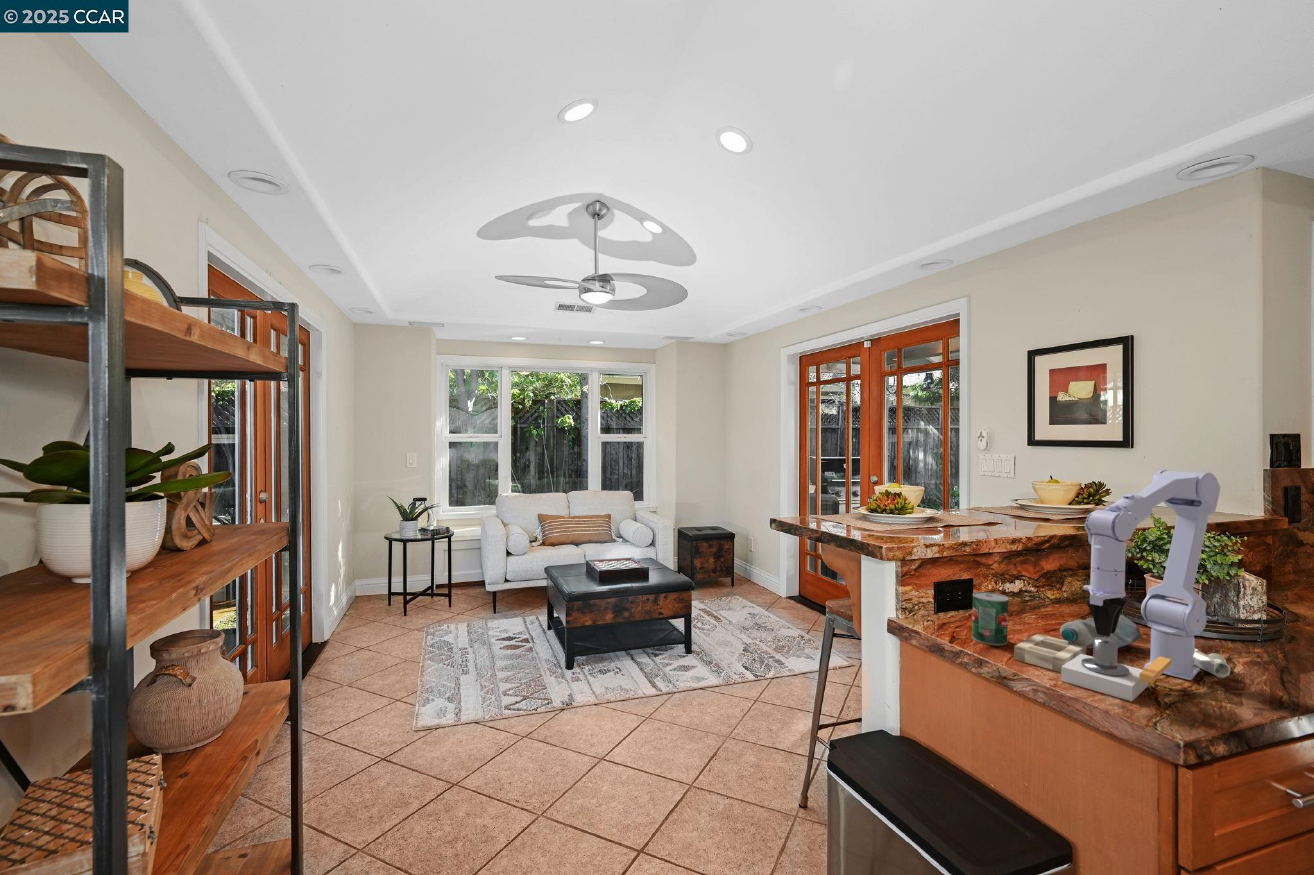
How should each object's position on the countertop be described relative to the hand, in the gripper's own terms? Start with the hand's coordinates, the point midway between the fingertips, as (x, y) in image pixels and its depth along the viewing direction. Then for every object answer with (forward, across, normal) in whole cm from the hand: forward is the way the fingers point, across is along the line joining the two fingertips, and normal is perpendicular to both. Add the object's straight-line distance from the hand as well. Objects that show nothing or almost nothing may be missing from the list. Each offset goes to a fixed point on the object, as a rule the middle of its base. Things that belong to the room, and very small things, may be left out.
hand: (1105, 633), depth 126 cm
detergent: (+10, -23, -8) cm, 26 cm away
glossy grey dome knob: (+10, 0, 0) cm, 10 cm away
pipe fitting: (+11, -28, +13) cm, 33 cm away
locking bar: (+6, -3, +8) cm, 11 cm away
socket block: (+10, 0, 0) cm, 10 cm away
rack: (+10, -6, -12) cm, 17 cm away
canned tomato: (+11, -8, -26) cm, 29 cm away
